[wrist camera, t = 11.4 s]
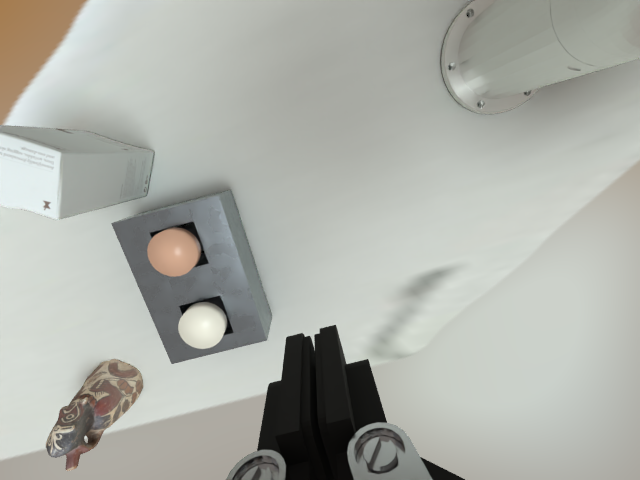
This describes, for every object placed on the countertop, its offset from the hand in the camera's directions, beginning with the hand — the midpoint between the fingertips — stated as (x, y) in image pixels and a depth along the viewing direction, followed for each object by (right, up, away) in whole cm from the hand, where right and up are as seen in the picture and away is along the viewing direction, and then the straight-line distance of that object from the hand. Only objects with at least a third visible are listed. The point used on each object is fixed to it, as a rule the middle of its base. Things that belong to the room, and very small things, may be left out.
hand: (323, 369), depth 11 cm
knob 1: (-16, +5, +31) cm, 35 cm away
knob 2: (-14, -4, +33) cm, 36 cm away
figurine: (-29, -16, +36) cm, 49 cm away
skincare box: (-25, +13, +29) cm, 40 cm away
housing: (-15, +1, +32) cm, 36 cm away
